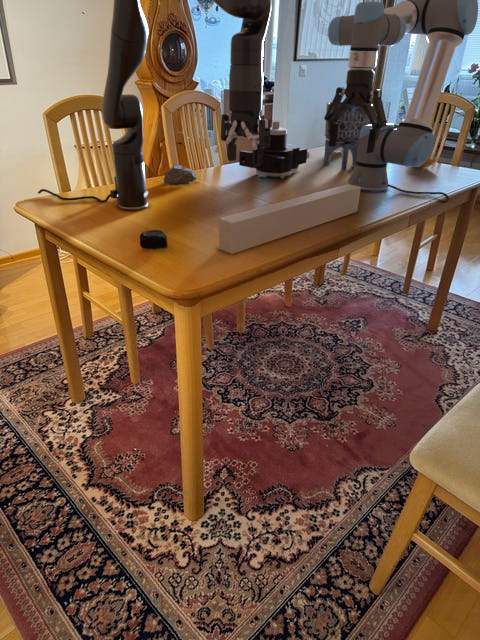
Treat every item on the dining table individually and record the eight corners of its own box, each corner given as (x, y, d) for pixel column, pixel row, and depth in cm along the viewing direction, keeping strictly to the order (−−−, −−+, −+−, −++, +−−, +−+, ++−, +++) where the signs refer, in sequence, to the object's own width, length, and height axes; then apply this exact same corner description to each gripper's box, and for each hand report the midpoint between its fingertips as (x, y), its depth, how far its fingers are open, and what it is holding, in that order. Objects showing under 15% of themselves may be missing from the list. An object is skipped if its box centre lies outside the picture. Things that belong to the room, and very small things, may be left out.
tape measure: (140, 252, 115) (139, 238, 113) (141, 242, 120) (140, 229, 119) (167, 251, 116) (166, 237, 114) (167, 241, 121) (166, 228, 120)
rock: (189, 177, 184) (188, 161, 181) (201, 182, 179) (201, 165, 176) (161, 182, 177) (159, 165, 173) (173, 187, 171) (172, 170, 168)
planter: (313, 167, 208) (319, 103, 195) (331, 160, 222) (338, 101, 209) (353, 173, 199) (362, 107, 185) (369, 166, 213) (379, 104, 199)
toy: (409, 160, 208) (403, 153, 221) (411, 174, 211) (405, 166, 224) (434, 152, 205) (427, 146, 218) (436, 166, 208) (429, 159, 221)
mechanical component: (240, 120, 182) (283, 115, 202) (239, 174, 192) (280, 164, 212) (283, 126, 170) (325, 120, 190) (280, 183, 180) (320, 171, 200)
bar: (344, 208, 152) (347, 183, 148) (357, 211, 149) (361, 186, 145) (219, 248, 118) (218, 218, 114) (232, 254, 115) (232, 223, 111)
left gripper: (212, 86, 103) (213, 160, 112) (256, 90, 95) (254, 170, 103) (236, 86, 108) (235, 157, 116) (280, 89, 99) (276, 166, 107)
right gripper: (317, 67, 132) (310, 144, 143) (394, 70, 117) (380, 156, 128) (332, 67, 137) (324, 142, 147) (409, 70, 121) (394, 153, 132)
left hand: (244, 163), depth 109 cm, fingers open, 8 cm apart
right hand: (350, 149), depth 138 cm, fingers open, 13 cm apart
